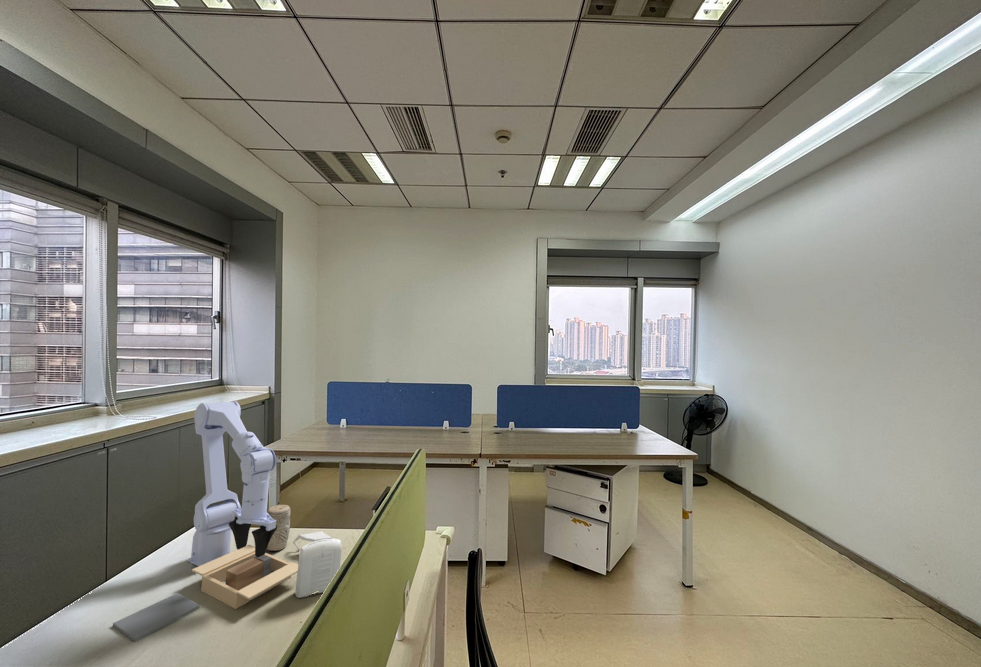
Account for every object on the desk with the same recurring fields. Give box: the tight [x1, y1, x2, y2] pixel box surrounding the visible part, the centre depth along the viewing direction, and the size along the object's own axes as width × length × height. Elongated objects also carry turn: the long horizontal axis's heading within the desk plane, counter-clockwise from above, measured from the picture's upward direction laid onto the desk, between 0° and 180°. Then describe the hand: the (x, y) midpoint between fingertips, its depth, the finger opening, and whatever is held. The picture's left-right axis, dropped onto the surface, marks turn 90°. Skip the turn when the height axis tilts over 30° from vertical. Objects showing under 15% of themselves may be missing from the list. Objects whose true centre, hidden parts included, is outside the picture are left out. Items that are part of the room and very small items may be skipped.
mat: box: [112, 592, 201, 643], centre depth 86 cm, size 9×12×1 cm
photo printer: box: [295, 538, 343, 598], centre depth 99 cm, size 10×4×12 cm, turn 123°
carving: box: [266, 504, 291, 552], centre depth 117 cm, size 6×8×12 cm
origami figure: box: [292, 530, 333, 551], centre depth 116 cm, size 12×8×5 cm
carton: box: [191, 544, 298, 610], centre depth 99 cm, size 22×15×4 cm, turn 65°
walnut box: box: [224, 555, 271, 591], centre depth 99 cm, size 4×9×5 cm, turn 155°
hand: (250, 551), depth 99 cm, fingers open, 7 cm apart
